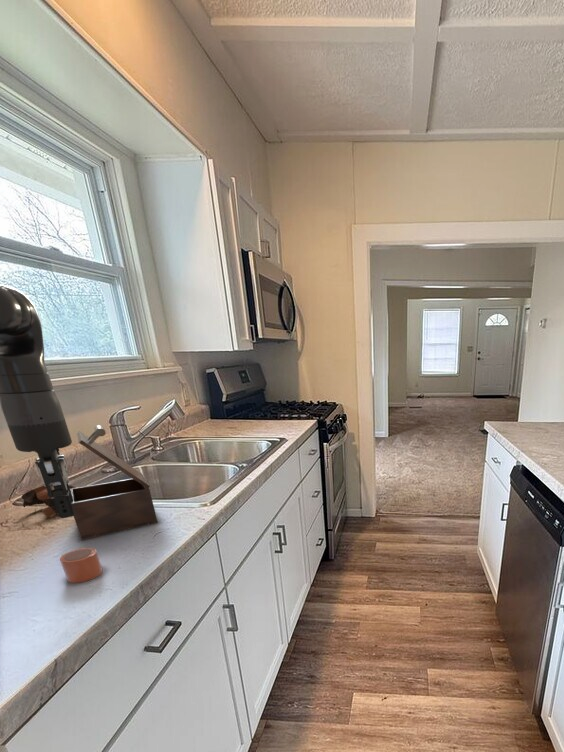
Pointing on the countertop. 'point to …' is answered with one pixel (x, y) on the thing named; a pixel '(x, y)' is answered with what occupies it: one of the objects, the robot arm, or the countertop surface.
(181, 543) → the countertop surface
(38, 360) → the robot arm
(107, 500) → the chest
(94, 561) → the small terracotta bowl
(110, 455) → the lid
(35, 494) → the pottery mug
